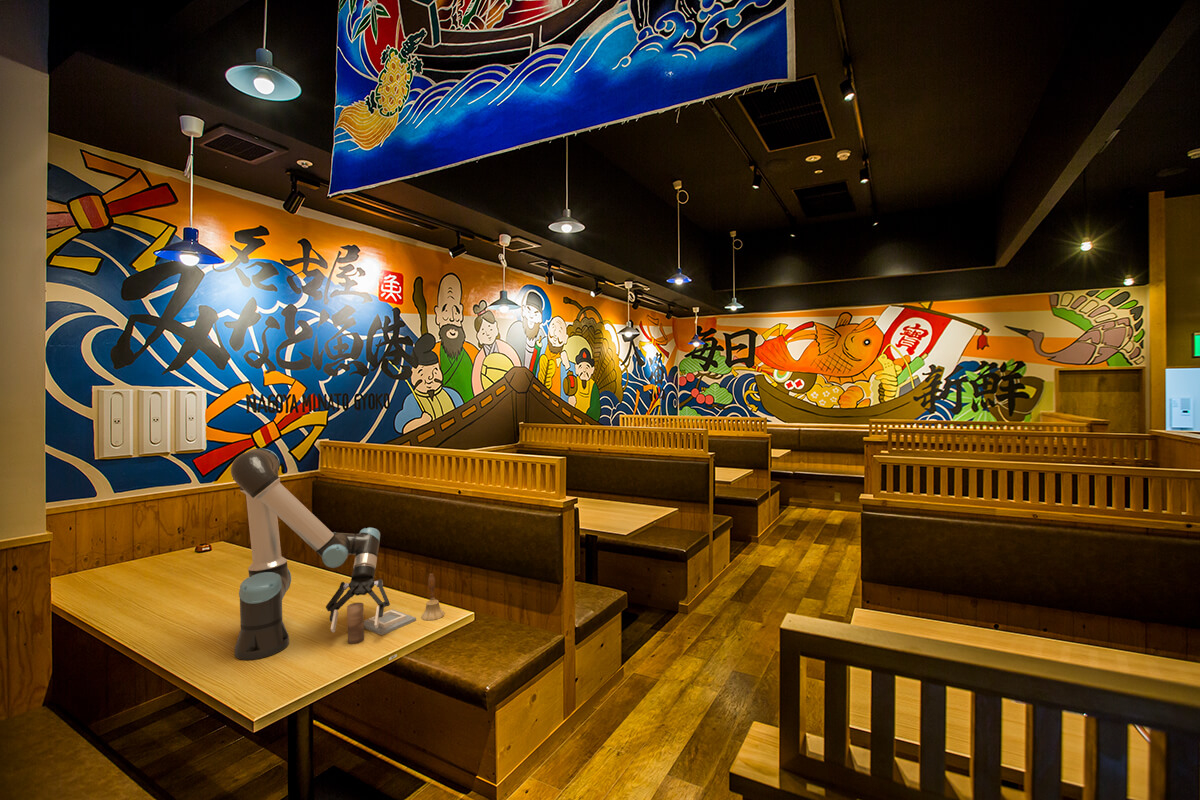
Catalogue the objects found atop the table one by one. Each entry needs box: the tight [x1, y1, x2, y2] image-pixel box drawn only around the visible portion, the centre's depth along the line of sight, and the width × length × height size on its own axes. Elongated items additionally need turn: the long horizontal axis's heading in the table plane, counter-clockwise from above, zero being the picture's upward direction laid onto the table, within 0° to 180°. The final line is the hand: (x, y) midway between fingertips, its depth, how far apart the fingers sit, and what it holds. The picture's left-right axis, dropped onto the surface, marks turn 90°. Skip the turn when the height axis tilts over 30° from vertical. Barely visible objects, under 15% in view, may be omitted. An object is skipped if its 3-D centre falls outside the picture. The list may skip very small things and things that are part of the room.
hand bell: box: [421, 573, 445, 621], centre depth 198 cm, size 8×8×16 cm
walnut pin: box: [346, 602, 365, 645], centre depth 179 cm, size 5×5×12 cm
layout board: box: [364, 609, 417, 636], centre depth 192 cm, size 14×14×2 cm
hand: (354, 628), depth 177 cm, fingers open, 13 cm apart
